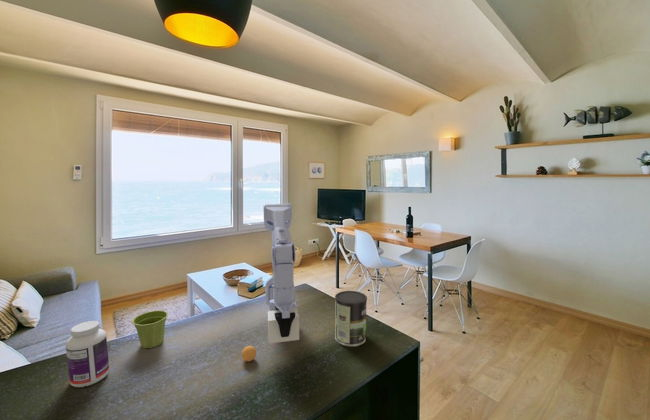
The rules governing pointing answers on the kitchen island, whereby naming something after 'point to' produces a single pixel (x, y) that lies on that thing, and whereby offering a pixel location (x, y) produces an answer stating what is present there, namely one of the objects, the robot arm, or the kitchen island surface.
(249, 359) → the ball
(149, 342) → the plant pot
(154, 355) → the kitchen island surface
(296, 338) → the white rectangular prism
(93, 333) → the pill bottle
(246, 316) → the kitchen island surface
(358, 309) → the coffee can
